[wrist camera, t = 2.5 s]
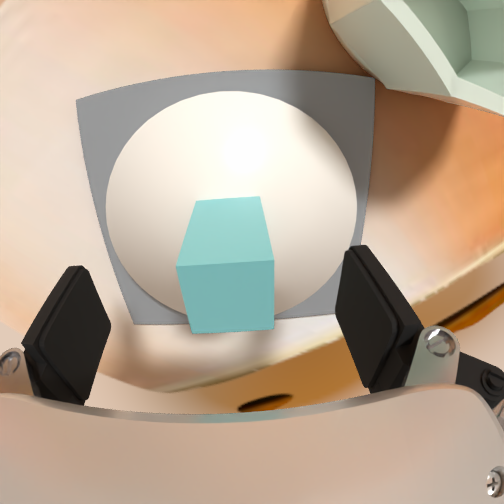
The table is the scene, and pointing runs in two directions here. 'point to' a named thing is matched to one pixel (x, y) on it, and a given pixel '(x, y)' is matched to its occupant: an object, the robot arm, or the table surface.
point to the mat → (183, 87)
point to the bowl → (428, 46)
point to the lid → (231, 209)
